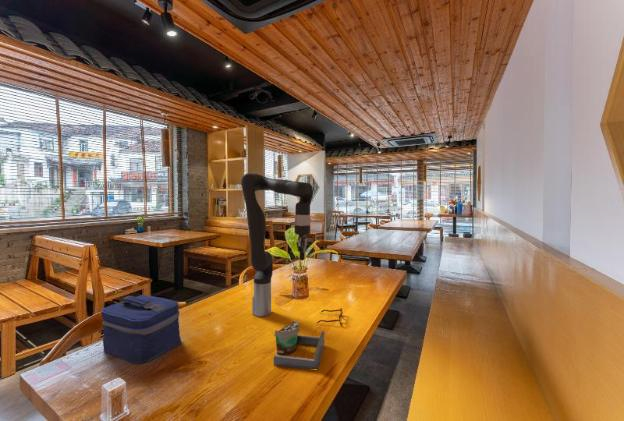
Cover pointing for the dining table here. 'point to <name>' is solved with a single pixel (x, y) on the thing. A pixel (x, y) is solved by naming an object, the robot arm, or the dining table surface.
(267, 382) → the dining table surface
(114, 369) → the dining table surface
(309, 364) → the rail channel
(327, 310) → the glasses
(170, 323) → the lunch bag
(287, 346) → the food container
